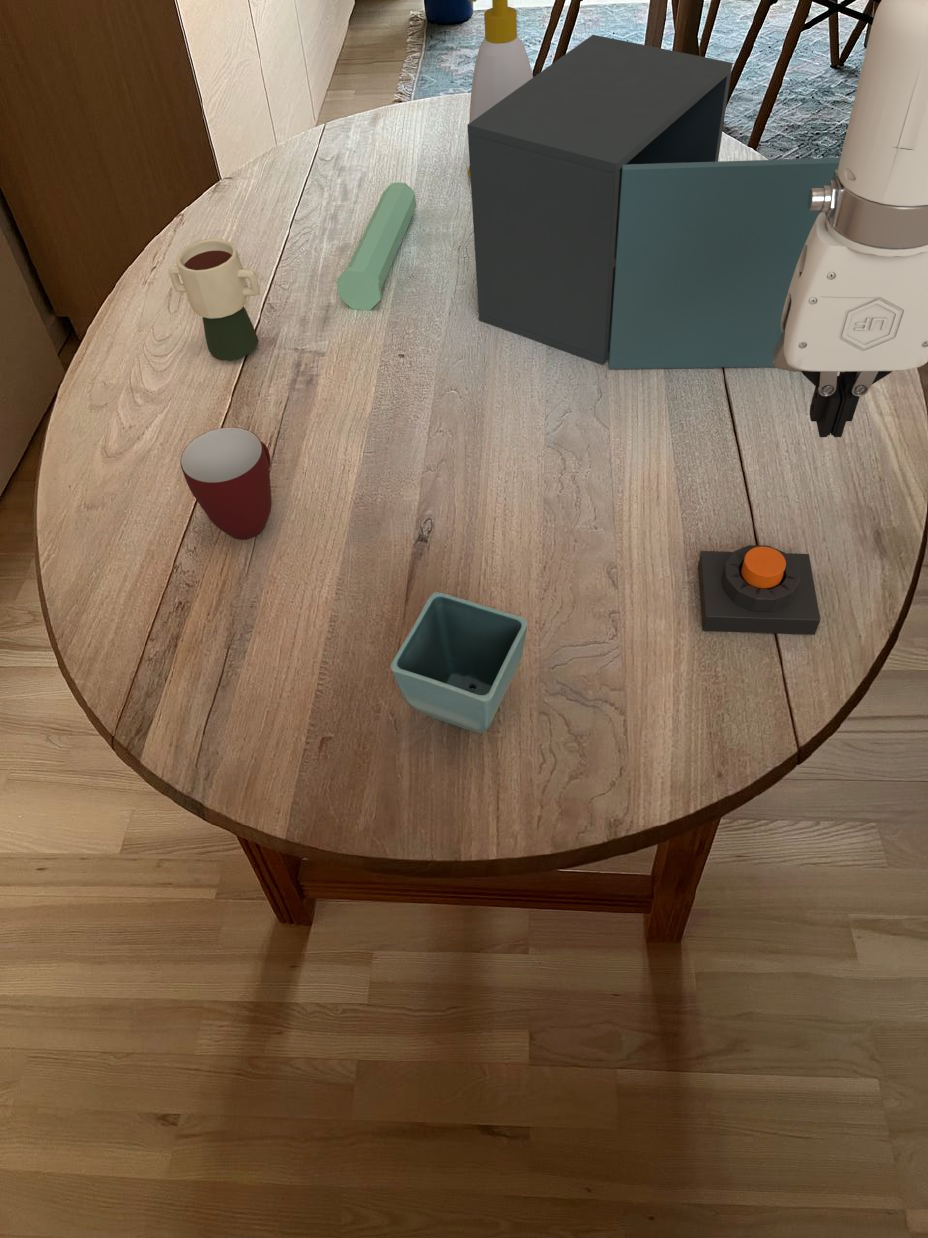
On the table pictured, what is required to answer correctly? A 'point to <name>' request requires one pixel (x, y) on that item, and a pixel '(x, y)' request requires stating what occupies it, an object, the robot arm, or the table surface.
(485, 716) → the flower pot
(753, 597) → the button block
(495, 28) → the soap bottle
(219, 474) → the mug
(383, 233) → the green octagonal rod
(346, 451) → the table surface
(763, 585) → the button
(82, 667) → the table surface
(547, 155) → the cupboard
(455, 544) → the table surface
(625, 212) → the door
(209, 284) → the character mug
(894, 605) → the table surface
